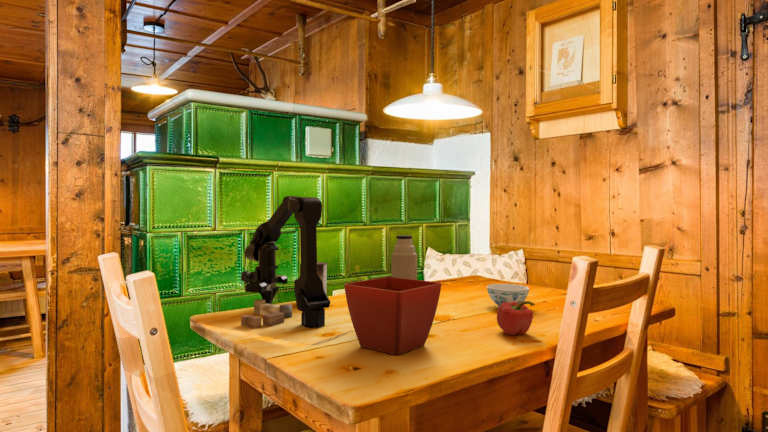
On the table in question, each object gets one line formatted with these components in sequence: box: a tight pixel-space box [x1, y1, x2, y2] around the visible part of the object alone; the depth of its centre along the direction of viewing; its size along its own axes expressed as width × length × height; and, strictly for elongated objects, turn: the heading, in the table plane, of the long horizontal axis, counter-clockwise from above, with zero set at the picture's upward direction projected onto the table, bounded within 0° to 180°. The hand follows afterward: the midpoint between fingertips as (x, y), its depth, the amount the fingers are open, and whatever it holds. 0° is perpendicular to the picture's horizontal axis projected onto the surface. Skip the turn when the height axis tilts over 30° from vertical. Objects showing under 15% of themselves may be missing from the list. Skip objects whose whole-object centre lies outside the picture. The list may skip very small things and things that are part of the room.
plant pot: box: [343, 276, 442, 356], centre depth 128 cm, size 19×19×17 cm
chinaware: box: [486, 283, 530, 308], centre depth 177 cm, size 15×15×8 cm
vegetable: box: [496, 300, 536, 336], centre depth 141 cm, size 11×10×10 cm
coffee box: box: [299, 261, 328, 304], centre depth 179 cm, size 9×6×16 cm
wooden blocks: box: [240, 312, 285, 330], centre depth 147 cm, size 8×10×4 cm
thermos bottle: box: [391, 234, 418, 280], centre depth 152 cm, size 8×8×28 cm
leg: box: [253, 298, 293, 319], centre depth 159 cm, size 14×4×4 cm, turn 64°
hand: (267, 308), depth 165 cm, fingers closed
